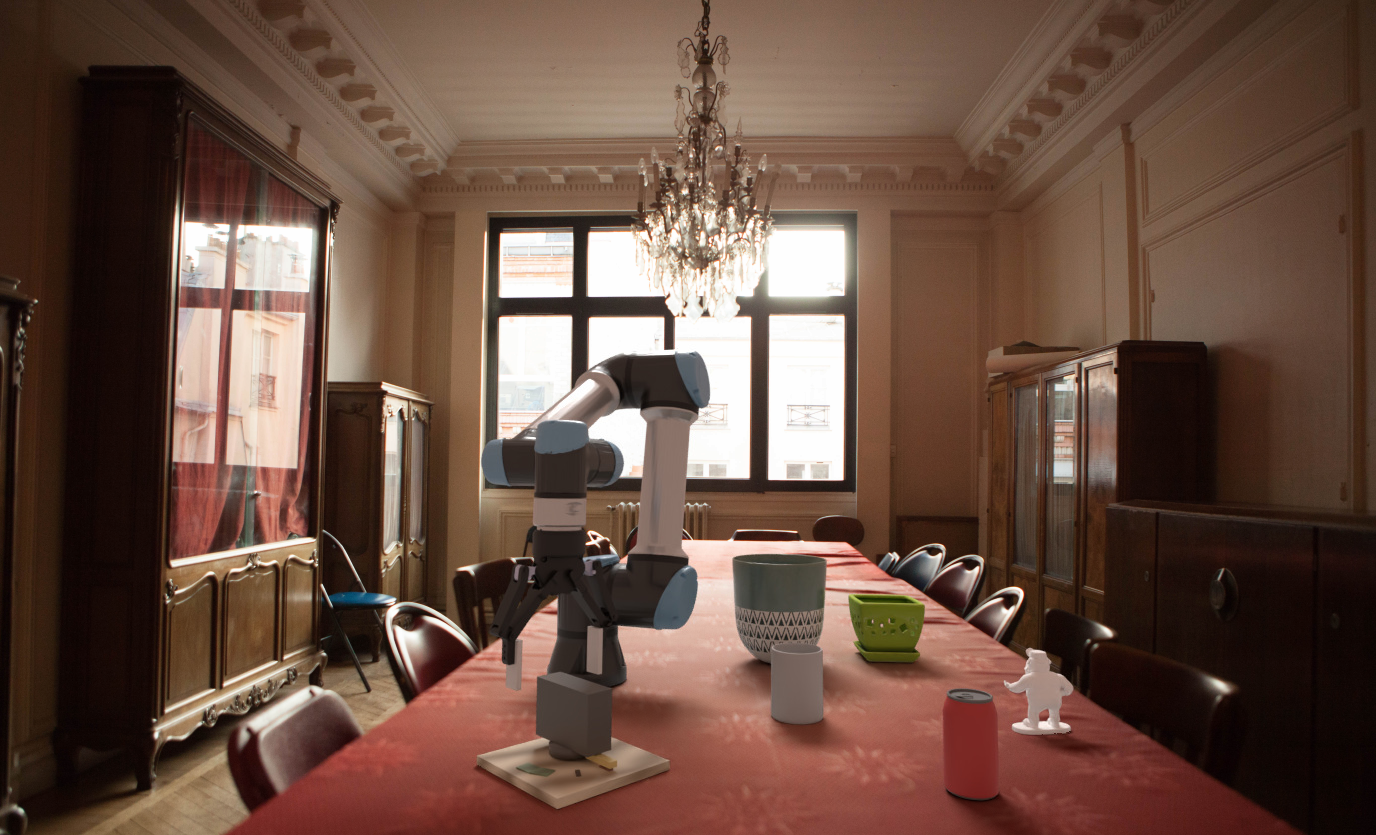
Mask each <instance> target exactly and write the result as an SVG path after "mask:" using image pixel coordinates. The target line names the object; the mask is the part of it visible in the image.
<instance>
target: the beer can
mask: <svg viewBox="0 0 1376 835" xmlns="http://www.w3.org/2000/svg"><path fill="white" fill-rule="evenodd" d="M998 716H999V715H998V710H997V707H996V704H995V702H994V696H993V695H992V694H990V693H989V692H987V691H983V690H980V689H975V688H974V689H973V688H966V687H965V688H964V687H963V688H960V687H959V688H952V689H948V690H947V691H946V698H945V700H944V703H943V708H942V753H943V754H942V756H943V757H942V761H943V762H942V764H943V765H942V766H943V768H942V769H943V773H942V774H943V786H944V788H945V789H946V790H947V792H949V793H951V794H952V795H953V796H956V797H959V798H960V799H965V800H971V801H988V800H991V799H994V798H995V797H996V796H997V795H999V793H1000V781H999V778H1000V776H999V770H1000V769H999V723H998V722H999V721H998V720H999V719H998V718H999V717H998Z"/></svg>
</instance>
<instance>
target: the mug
mask: <svg viewBox="0 0 1376 835" xmlns="http://www.w3.org/2000/svg"><path fill="white" fill-rule="evenodd" d="M770 669H771V670H770V678H771V679H770V684H771V686H770V689H771V690H770V693H771V694H770V715H771V717H772V718H773V719H774V720H776V721H778V722H780V723H786V724H790V725H810V724H815V723H816V724H817V723H819V722H821V721H822V720H823V718H824V651H823V648H822V647H820V646H819V645H812V644H806V643H781V644H776V645H774V646H772V648H771V663H770Z"/></svg>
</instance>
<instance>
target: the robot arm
mask: <svg viewBox="0 0 1376 835" xmlns="http://www.w3.org/2000/svg"><path fill="white" fill-rule="evenodd" d="M707 368H708V367H707V366H706V362H705V360H704V359H703V357H702V356H701V354H700V353H699V352H698V351H696V350H693V349H679V348H675V349H663V350H647V351H646V350H645V351H644V350H642V351H626V352H622V353H619V354H616V355H613V356H611V357H608V358H607V359H604V360H603V361H602V360H601V362H599V363H597V364H594V365H593V366H591V367H590V368H589V369H588V370H586V371H585V372H584V373H582V374H581V375H580V376H578V378H577V380H576V381H575V384H574V387H573V388H572V389H571V390H569V391H568V392H567V393H566V394H565V395H564V396H562V397H561V398H559V400H558V401H556V402H555V403H554V404H553V405H552V406H550V407H549V408H548V409H547V410H545V411H544V412H543V413H542V414H541V415H539V416H538V417H537V418H536V419H534V420H533V421H532V422H531V423H529V425H527V426H526V427H525V428H524V429H522V430H521V431H520V432H519V433H518V434H516V435H515V436H514V437H512V438H506V437H502V438H498V439H495V438H494V439H492V440H490V441H488V442H487V443H486V444H485V446H484V448H483V449H482V453H481V457H480V460H481V461H480V466H481V469H482V473H483V477H484V478H485V479H486V480H487V482H489V483H490V484H493V485H498V486H499V485H500V486H507V487H512V486H513V487H514V486H515V487H516V486H519V487H521V486H524V487H525V486H528V487H531V486H532V487H534V493H533V509H532V510H533V512H532V524H533V526H534V527H536V529H534V530H533V532H532V546H531V547H532V548H531V549H532V550H531V552H532V556H533V562H532V565H531V566H530V565H529V566H528V565H525V564H518V563H516V564H514V565H513V566H512V569H511V575H510V581H509V583H508V586H507V589H506V591H505V593H504V595H503V596H502V599H501V602H500V604H499V606H498V608H497V610H496V613H495V616H494V617H493V620H492V622H491V624H490V626H489V628H488V633H489V635H491V636H493V637H498V638H500V639H501V645H502V646H501V662H502V664H503V665H506V668H505V670H506V671H505V688H508V689H510V690H513V691H515V692H517V691H522V676H523V674H522V673H523V672H522V671H523V645H524V644H523V640H522V639H519V638H518V637H519V636H520V635H521V633H522V632H523V631H524V629H525V627H526V626H527V624H528V623H529V622H530V620H531V619H532V617H533V616H534V614H535V613H536V612H537V610H538V609H539V607H540V606H541V604H542V603H543V601H545V600H547V598H548V597H549V596H552V597H556V596H557V606H556V608H557V613H556V614H557V615H556V616H557V617H556V620H557V621H556V622H557V623H556V627H557V628H556V632H557V633H556V641H555V644H554V647H553V650H552V653H551V656H550V659H549V663H548V665H547V668H546V675H547V674H552V673H557V672H563V673H566V674H569V675H572V676H575V677H578V678H581V679H584V680H587V681H590V682H593V683H596V684H599V685H602V686H605V687H608V688H611V687H615V686H618V685H620V684H622V683H623V682H625V681H626V680H627V678H628V676H627V674H628V672H627V670H628V669H627V663H626V660H625V656H624V653H623V650H622V647H621V643H620V639H619V627H629V628H638V629H639V628H643V629H652V630H657V631H662V630H678V629H681V628H683V627H684V626H685V625H686V623H688V621H689V619H690V618H691V615H692V613H693V611H694V608H695V604H696V601H697V595H698V589H699V581H698V577H699V576H698V573H697V570H696V569H695V567H693V566H692V565H689V561H690V557H689V555H688V554H687V553H686V552H685V551H684V549H683V534H684V532H683V531H684V519H685V518H684V517H685V516H684V515H685V503H686V491H687V490H686V488H687V487H686V486H687V475H688V461H689V460H688V459H689V447H690V446H689V445H690V433H691V432H690V431H691V426H692V425H694V423H696V421H698V420H699V413H700V409H704V408H706V407H708V405H709V404H710V403H709V402H710V400H711V399H710V398H711V386H710V384H711V383H710V377H709V372H708V369H707ZM627 409H628V410H630V409H631V410H632V409H636V410H638V409H639V415H640V417H641V418H642V419H643V420H644V421H645V423H646V428H645V438H644V439H645V441H644V453H643V465H642V473H641V474H642V476H641V485H640V486H641V487H640V498H639V512H638V523H637V535H636V544H635V546H633V548H631V549H630V550H629V551H628V552H627V560H626V563H623V562H621V559H620V556H619V555H618V554H602V555H592V556H586V557H584V555H585V554H586V547H587V546H586V545H587V544H586V543H587V541H586V540H587V537H586V536H587V532H586V531H585V530H584V529H582V528H583V527H584V526H586V525H587V501H588V500H587V497H588V496H587V489H588V487H589V488H599V489H600V488H604V487H607V486H610V485H612V484H614V483H616V482H617V481H618V480H619V479H620V477H621V475H622V474H623V471H624V466H625V461H624V455H623V453H622V451H621V449H620V448H619V446H617V445H616V444H615V443H613V442H611V441H609V440H605V439H604V438H599V439H598V438H590V436H589V429H590V428H591V427H592V426H593V425H594V424H596V422H597V421H598V420H600V418H603V417H607V416H610V415H612V414H613V413H614V412H615V411H618V410H627ZM532 578H533V582H532V584H531V585H530V586H529V588H528V589H527V594H526V595H525V597H524V598H523V596H524V593H525V592H526V588H527V586H528V583H529V581H530V580H532ZM522 598H523V600H522Z"/></svg>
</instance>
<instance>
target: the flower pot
mask: <svg viewBox="0 0 1376 835" xmlns="http://www.w3.org/2000/svg"><path fill="white" fill-rule="evenodd" d="M848 607H849V614H850V616H849V617H850V620H851V624H852V628H853V631H854V633H855V636H856V639H857V640H853V641H852V642H853V645H854V646H855V648H856V649H857V650H858V651H859V653H860V654H861V655H862V657H864V658H865V659H866V660H867V661H868V662H871V663H878V662H879V663H908V664H912V663H914V662H916V661H917V660H918V659H919V658H920V657H921V652H919V650H918V649H916V647H917V645H918V643H919V641H920V639H921V638H920V637H921V634H922V631H923V627H924V623H925V622H924V621H925V612H926V606H925V604H924V603H923V602H922V601H920V600H918V599H916V598H914V597H912V596H909V595H905V594H875V593H874V594H871V593H869V594H868V593H867V594H866V593H863V594H861V593H850V594H849V595H848ZM881 625H882V626H881Z"/></svg>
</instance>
